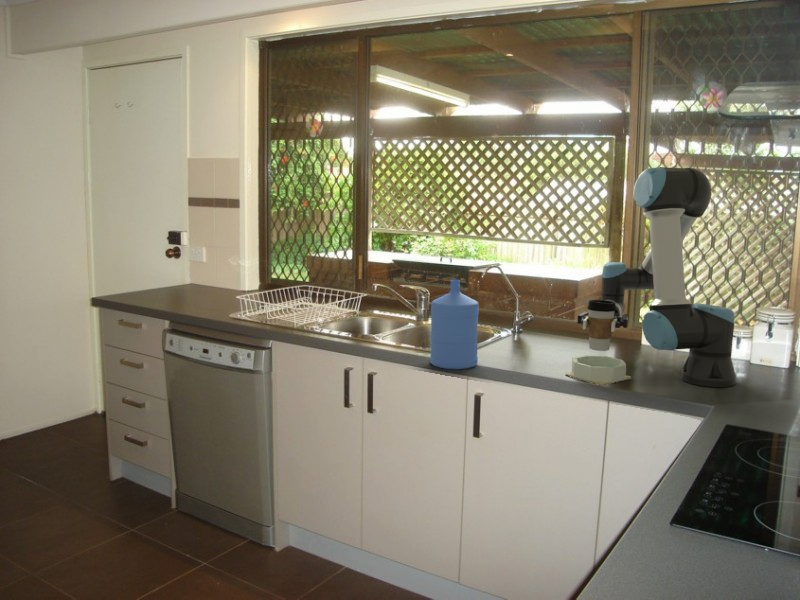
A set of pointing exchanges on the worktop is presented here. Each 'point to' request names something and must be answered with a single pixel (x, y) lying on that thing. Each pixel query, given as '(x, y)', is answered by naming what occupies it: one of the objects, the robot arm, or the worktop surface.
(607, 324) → the coffee cup
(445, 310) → the water jug
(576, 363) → the bowl
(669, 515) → the worktop surface
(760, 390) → the worktop surface
